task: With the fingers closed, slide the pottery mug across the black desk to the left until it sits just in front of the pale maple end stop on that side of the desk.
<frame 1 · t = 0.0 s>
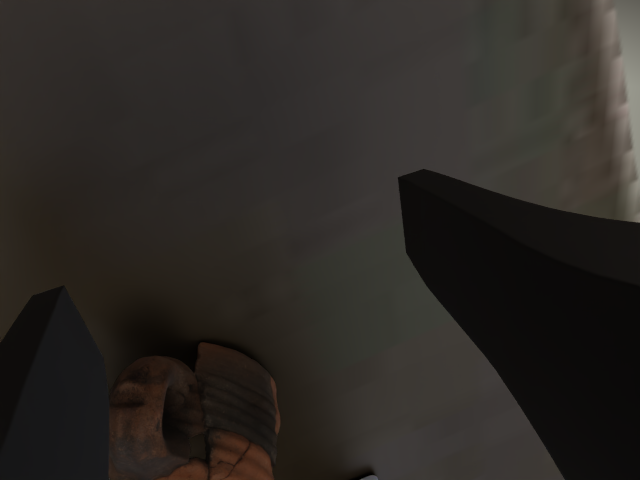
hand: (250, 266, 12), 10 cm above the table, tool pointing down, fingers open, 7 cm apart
pottery mug: (166, 400, 27), on the table
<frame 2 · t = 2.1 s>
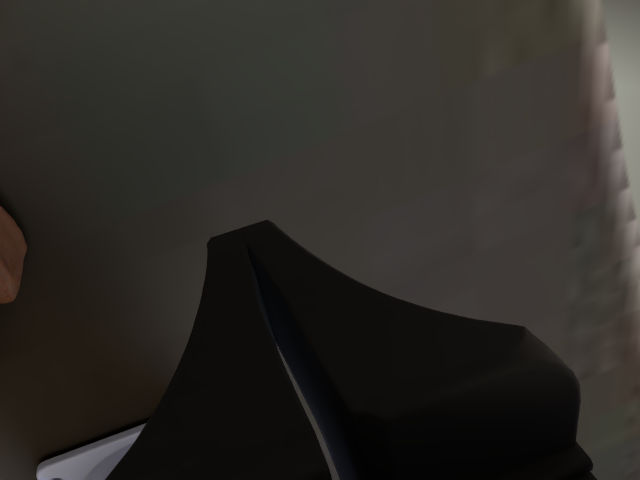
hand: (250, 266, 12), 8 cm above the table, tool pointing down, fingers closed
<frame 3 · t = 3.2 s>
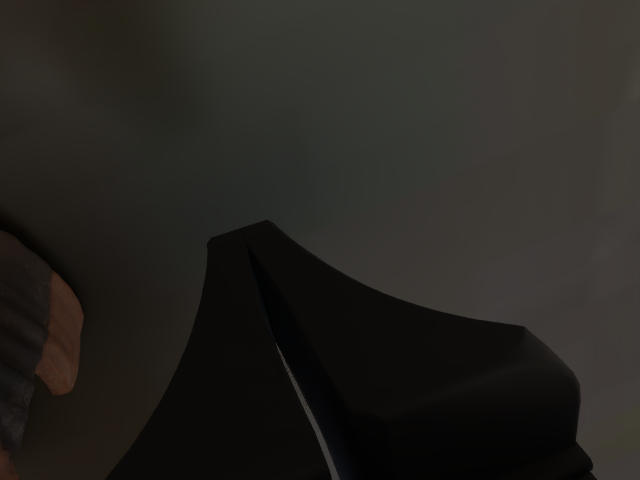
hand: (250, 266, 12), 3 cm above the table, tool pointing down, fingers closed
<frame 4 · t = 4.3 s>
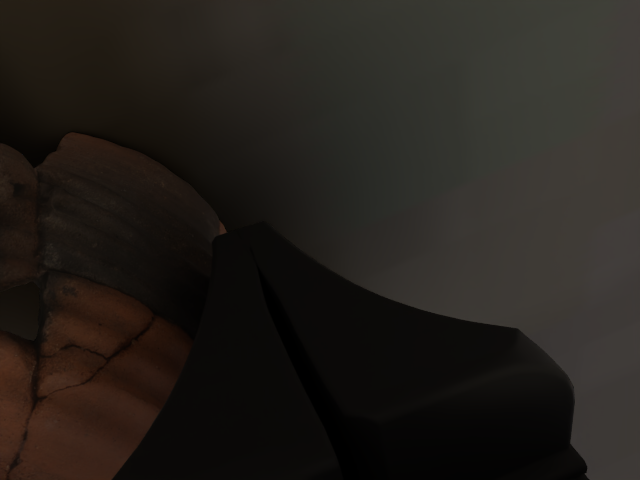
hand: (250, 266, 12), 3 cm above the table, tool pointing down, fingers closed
pottery mug: (18, 267, 14), on the table, touching gripper
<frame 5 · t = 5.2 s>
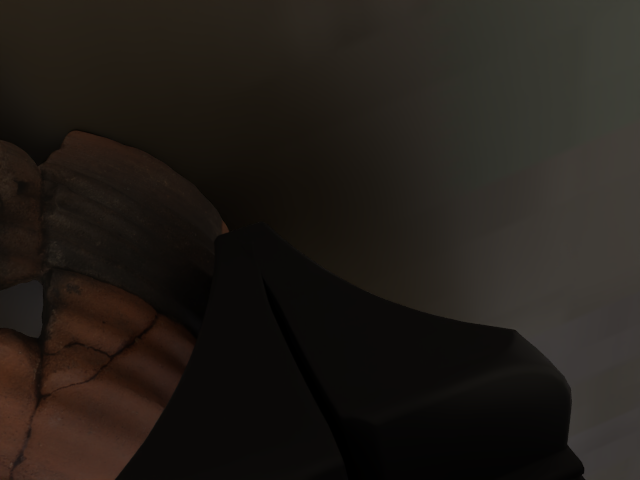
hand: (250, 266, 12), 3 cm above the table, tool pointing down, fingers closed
pottery mug: (20, 265, 14), on the table, touching gripper
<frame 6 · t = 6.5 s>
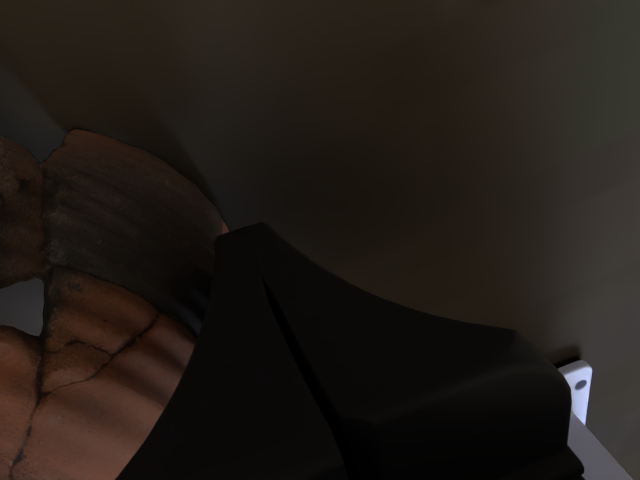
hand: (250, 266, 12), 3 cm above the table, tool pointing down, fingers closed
pottery mug: (19, 263, 14), on the table, touching gripper
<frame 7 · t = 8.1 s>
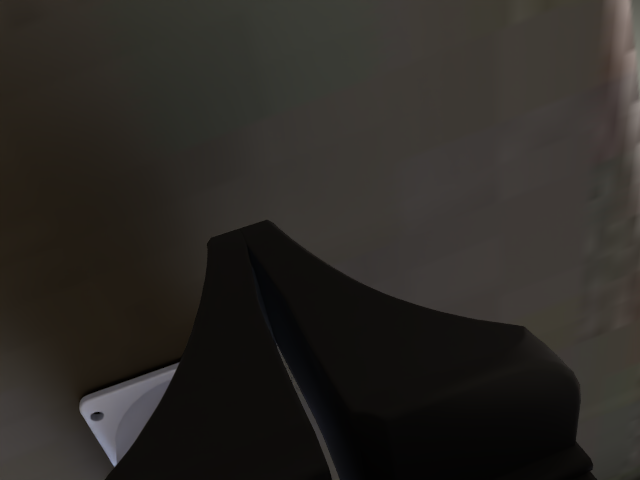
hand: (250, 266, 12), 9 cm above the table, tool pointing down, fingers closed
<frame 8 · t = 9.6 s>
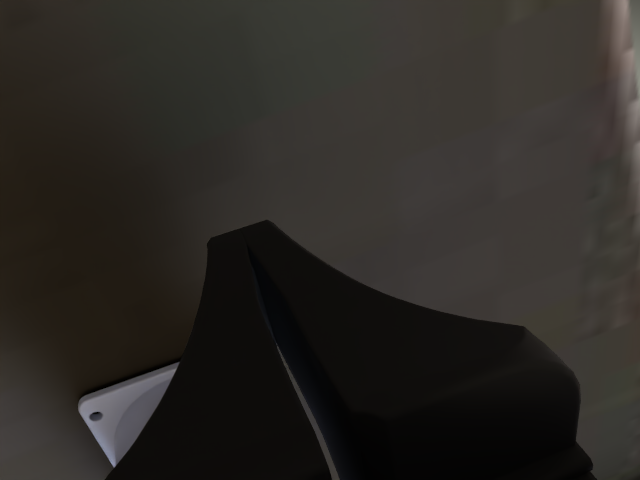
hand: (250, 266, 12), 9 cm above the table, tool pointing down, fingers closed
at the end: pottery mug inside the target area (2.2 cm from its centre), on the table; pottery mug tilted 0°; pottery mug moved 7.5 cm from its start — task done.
